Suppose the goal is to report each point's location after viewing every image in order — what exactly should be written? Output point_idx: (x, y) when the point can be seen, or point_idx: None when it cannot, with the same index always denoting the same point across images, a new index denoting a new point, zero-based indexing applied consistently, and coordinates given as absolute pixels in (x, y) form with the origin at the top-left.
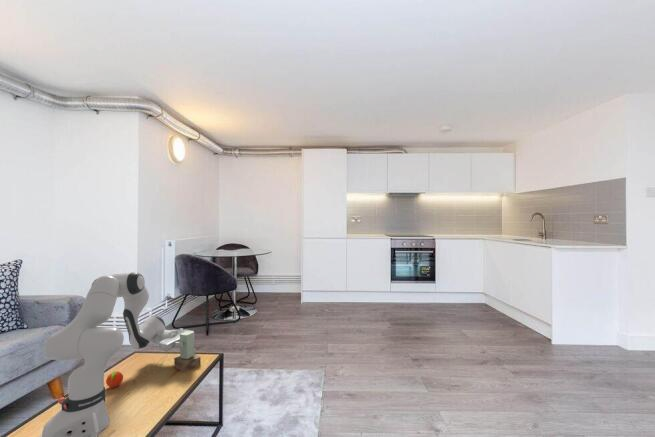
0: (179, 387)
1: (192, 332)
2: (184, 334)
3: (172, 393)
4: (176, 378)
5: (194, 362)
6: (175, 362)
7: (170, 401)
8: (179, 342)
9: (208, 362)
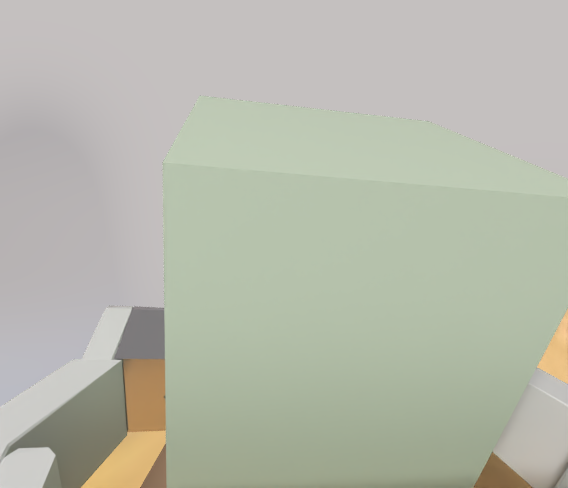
0: None
1: (231, 101)
2: (453, 142)
3: (545, 361)
4: (484, 484)
5: None
6: None
7: (561, 326)
8: (531, 377)
9: None
